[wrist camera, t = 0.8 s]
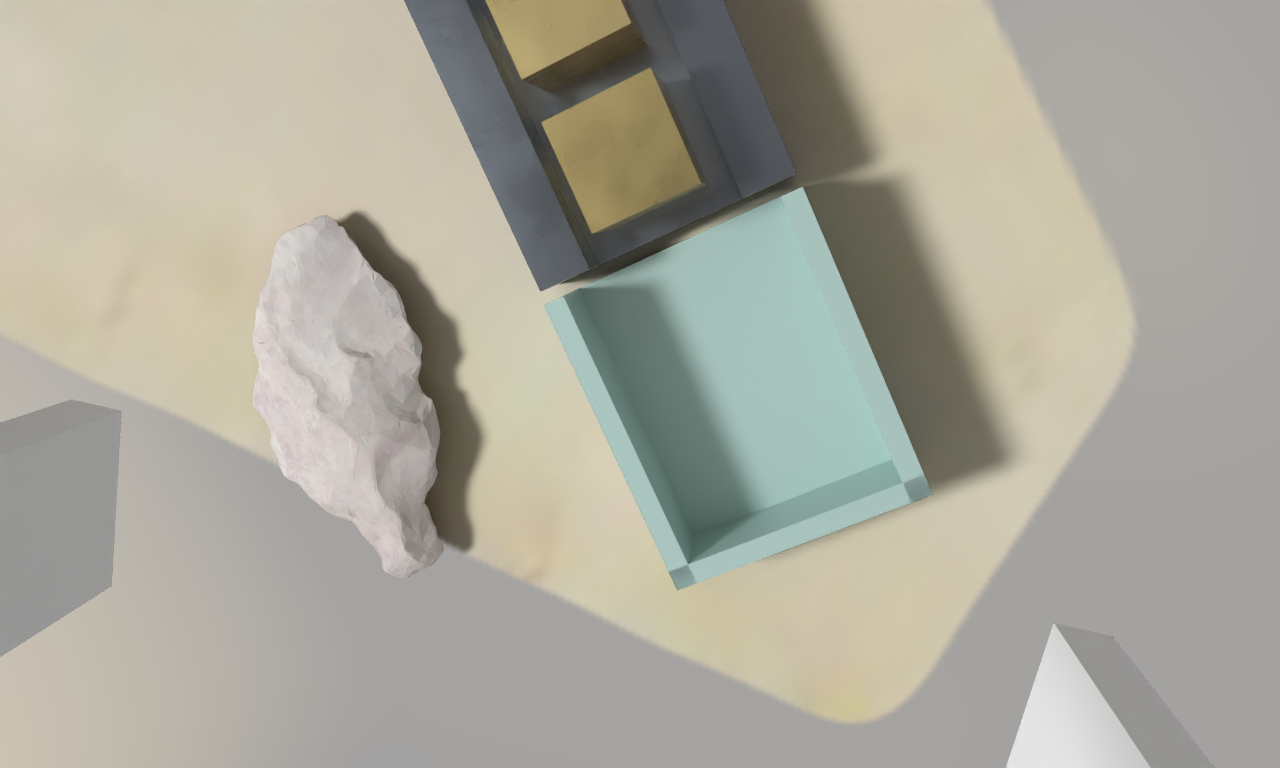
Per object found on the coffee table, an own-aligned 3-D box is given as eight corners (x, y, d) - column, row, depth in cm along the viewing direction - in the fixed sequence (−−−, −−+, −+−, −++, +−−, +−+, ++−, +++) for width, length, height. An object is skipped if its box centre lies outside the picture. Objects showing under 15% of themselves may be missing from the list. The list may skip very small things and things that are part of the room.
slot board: (352, -159, 34) (314, -192, 31) (591, -302, 32) (574, -352, 29) (558, 284, 37) (540, 291, 34) (793, 175, 35) (796, 173, 32)
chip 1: (502, -10, 34) (468, -37, 30) (600, -63, 33) (578, -98, 29) (549, 93, 34) (521, 79, 30) (646, 43, 33) (631, 22, 29)
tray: (563, 295, 37) (543, 305, 33) (799, 187, 35) (802, 186, 31) (684, 556, 38) (677, 590, 35) (917, 467, 36) (932, 494, 33)
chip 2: (566, 131, 34) (541, 122, 30) (663, 82, 34) (650, 67, 30) (611, 229, 35) (592, 234, 31) (708, 184, 34) (700, 182, 30)
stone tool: (513, 536, 39) (382, 202, 38) (495, 557, 36) (352, 195, 35) (344, 595, 40) (212, 272, 39) (312, 621, 37) (168, 271, 36)
